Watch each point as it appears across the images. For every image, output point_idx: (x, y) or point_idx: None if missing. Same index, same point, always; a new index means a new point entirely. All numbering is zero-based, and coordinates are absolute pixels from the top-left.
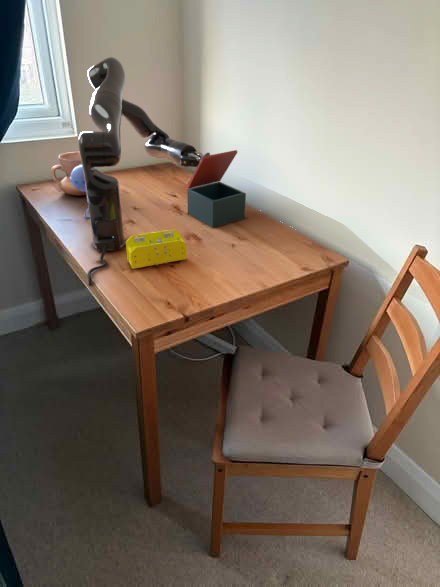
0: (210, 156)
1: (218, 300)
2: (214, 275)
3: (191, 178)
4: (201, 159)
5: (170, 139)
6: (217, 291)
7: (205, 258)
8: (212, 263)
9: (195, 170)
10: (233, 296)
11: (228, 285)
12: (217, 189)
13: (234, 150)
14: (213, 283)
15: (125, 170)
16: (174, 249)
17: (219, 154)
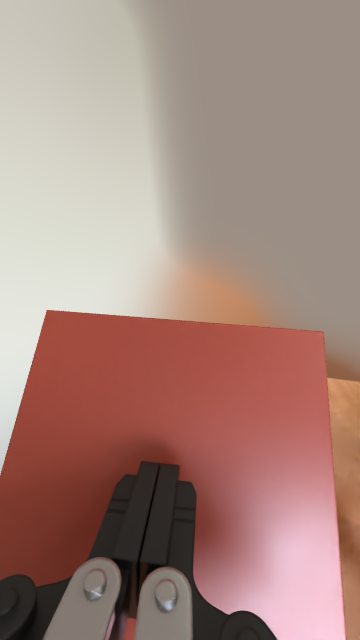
0: (260, 330)
1: (356, 383)
2: (344, 409)
3: (342, 610)
4: (323, 354)
5: None
6: (351, 391)
7: (345, 445)
8: (335, 428)
9: (334, 484)
10: (332, 379)
11: (330, 390)
12: None
13: (63, 311)
14: (352, 401)
15: None
16: None
17: (188, 323)
